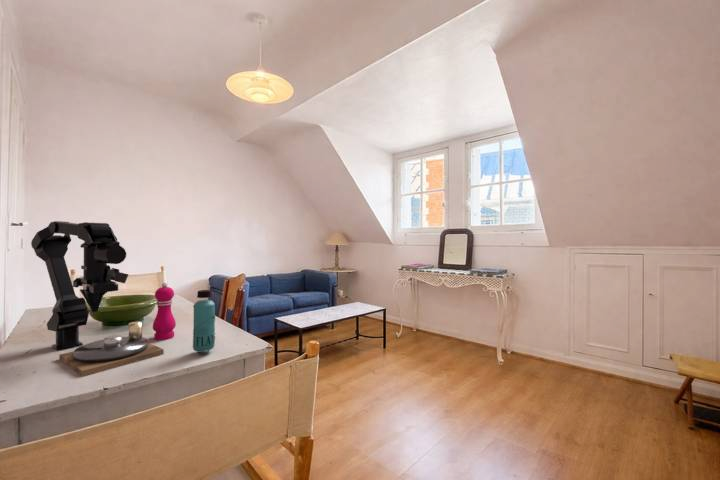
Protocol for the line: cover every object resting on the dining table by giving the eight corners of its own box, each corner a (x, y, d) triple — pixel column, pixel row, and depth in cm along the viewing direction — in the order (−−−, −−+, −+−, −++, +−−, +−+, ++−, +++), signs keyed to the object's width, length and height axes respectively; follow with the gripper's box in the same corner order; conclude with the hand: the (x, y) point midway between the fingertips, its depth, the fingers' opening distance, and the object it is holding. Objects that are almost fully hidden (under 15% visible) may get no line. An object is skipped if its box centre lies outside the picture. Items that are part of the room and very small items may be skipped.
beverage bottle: (192, 357, 98) (192, 292, 98) (192, 350, 104) (192, 289, 104) (215, 354, 101) (216, 291, 101) (214, 347, 107) (214, 288, 107)
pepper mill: (164, 341, 113) (165, 284, 113) (147, 339, 114) (147, 283, 114) (180, 335, 120) (180, 281, 120) (163, 333, 122) (164, 281, 121)
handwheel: (101, 366, 87) (101, 341, 87) (58, 357, 93) (58, 333, 93) (161, 345, 104) (161, 324, 104) (122, 338, 110) (122, 318, 110)
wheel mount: (59, 359, 96) (59, 354, 96) (135, 341, 112) (135, 337, 112) (82, 376, 85) (82, 370, 85) (163, 354, 101) (163, 349, 101)
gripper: (137, 262, 103) (137, 311, 103) (113, 259, 113) (113, 303, 114) (94, 265, 94) (93, 318, 94) (72, 261, 104) (72, 309, 104)
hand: (94, 311), depth 102 cm, fingers closed
